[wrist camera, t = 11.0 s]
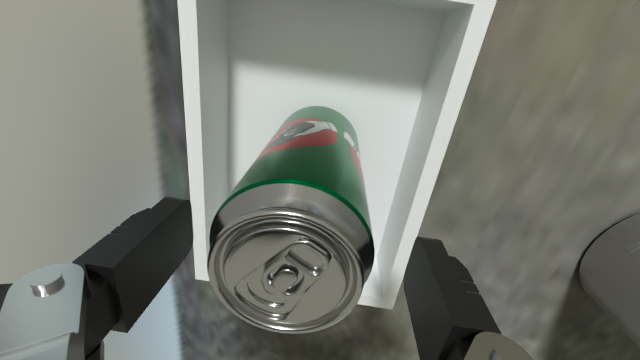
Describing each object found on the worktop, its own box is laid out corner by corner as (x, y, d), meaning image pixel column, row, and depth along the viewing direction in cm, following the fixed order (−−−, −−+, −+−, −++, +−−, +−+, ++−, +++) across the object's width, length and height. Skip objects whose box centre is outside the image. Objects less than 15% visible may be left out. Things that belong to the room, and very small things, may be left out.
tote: (460, -2, 16) (502, -17, 11) (383, 262, 23) (392, 309, 19) (217, -37, 16) (173, -65, 12) (221, 237, 23) (195, 279, 19)
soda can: (263, 148, 19) (160, 284, 8) (311, 86, 17) (259, 156, 7) (323, 193, 20) (302, 366, 9) (374, 139, 18) (420, 275, 8)
